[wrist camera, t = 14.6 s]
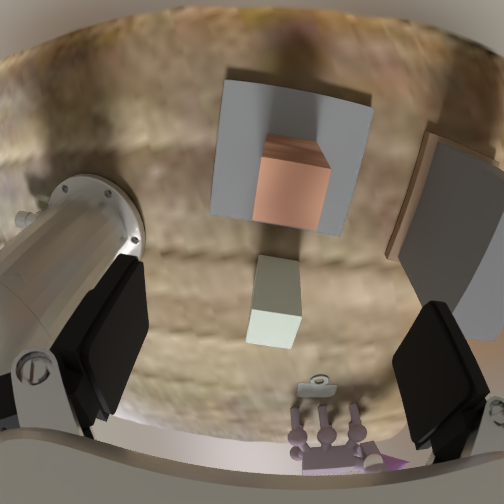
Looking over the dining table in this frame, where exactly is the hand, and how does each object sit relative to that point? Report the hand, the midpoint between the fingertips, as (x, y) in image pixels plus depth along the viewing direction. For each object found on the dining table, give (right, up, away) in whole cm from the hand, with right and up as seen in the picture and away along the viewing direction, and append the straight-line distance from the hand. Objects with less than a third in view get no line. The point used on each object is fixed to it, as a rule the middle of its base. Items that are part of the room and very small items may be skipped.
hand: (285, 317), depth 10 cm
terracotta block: (+2, +10, +15) cm, 18 cm away
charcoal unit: (+18, +7, +16) cm, 25 cm away
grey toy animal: (+15, -26, +37) cm, 48 cm away
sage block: (+1, 0, +22) cm, 22 cm away
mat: (+2, +10, +16) cm, 19 cm away
